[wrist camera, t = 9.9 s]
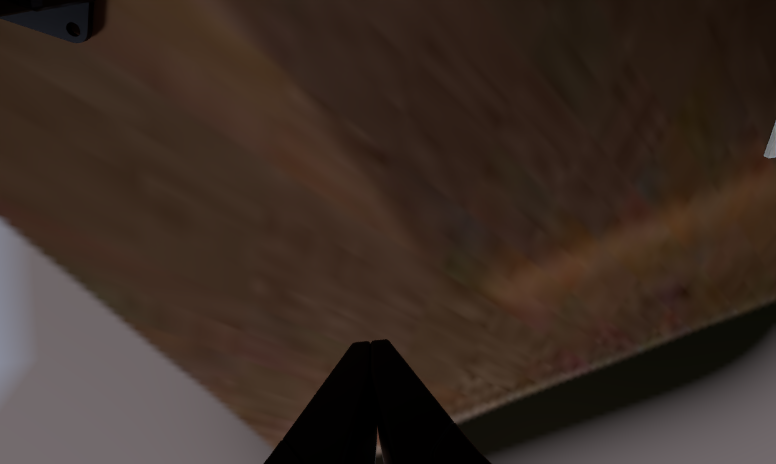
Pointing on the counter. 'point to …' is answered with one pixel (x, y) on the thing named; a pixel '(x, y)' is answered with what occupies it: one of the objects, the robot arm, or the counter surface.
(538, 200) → the counter surface
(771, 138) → the grey mat
